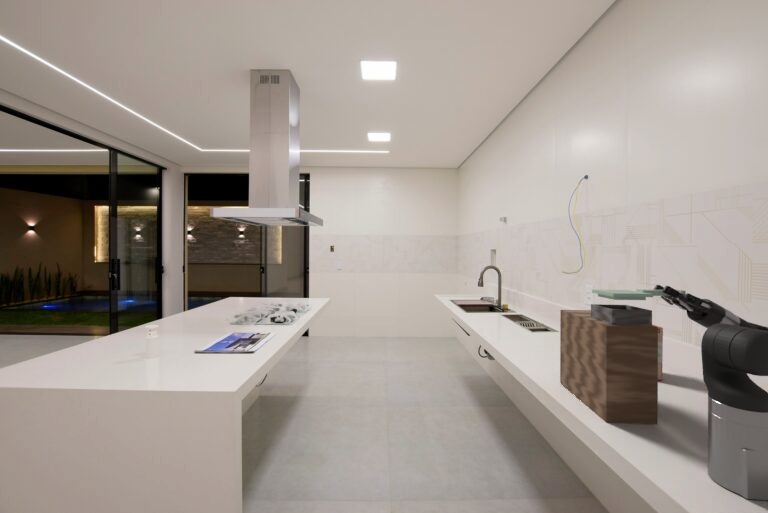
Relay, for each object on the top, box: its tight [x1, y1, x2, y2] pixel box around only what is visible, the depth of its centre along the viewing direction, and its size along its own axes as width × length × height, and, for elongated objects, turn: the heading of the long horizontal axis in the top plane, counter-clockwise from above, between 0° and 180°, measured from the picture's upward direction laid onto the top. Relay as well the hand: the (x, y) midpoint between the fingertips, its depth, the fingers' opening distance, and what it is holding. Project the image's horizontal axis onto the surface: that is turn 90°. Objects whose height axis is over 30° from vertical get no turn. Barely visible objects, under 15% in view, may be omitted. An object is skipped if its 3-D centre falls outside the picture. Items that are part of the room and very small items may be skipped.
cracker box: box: [652, 324, 664, 381], centre depth 130 cm, size 14×6×21 cm, turn 168°
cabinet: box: [559, 303, 659, 426], centre depth 105 cm, size 28×14×32 cm, turn 175°
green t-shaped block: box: [591, 288, 686, 301], centre depth 98 cm, size 11×23×3 cm, turn 85°
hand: (660, 288), depth 97 cm, fingers closed on green t-shaped block, 3 cm apart
